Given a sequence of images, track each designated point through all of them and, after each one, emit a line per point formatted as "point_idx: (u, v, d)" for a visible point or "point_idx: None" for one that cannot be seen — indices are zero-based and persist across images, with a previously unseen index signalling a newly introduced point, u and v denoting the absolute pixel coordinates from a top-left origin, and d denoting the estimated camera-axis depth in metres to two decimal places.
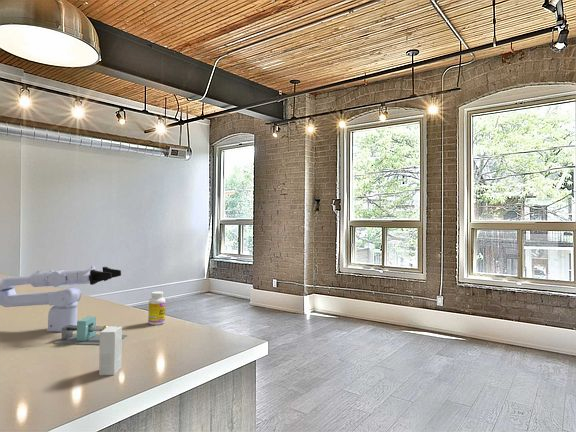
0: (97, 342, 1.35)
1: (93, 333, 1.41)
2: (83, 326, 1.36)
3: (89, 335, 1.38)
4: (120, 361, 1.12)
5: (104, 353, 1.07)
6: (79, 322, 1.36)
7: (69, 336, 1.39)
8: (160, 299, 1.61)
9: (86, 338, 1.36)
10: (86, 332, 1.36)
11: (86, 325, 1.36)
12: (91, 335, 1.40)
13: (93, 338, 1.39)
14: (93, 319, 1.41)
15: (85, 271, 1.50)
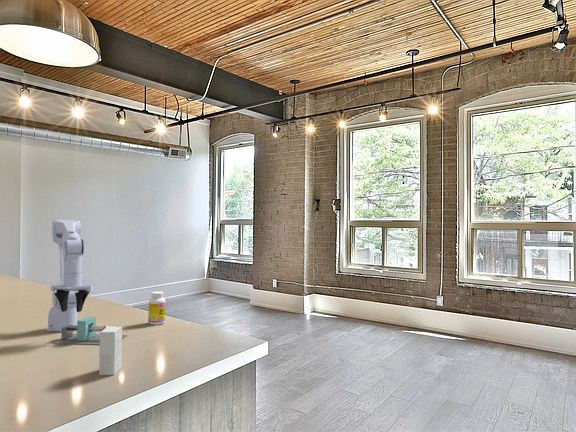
0: (97, 342, 1.35)
1: (93, 333, 1.41)
2: (83, 326, 1.36)
3: (89, 335, 1.38)
4: (120, 361, 1.12)
5: (104, 353, 1.07)
6: (79, 322, 1.36)
7: (69, 336, 1.39)
8: (160, 299, 1.61)
9: (86, 338, 1.36)
10: (86, 332, 1.36)
11: (86, 325, 1.36)
12: (91, 335, 1.40)
13: (93, 338, 1.39)
14: (93, 319, 1.41)
15: (63, 281, 1.38)
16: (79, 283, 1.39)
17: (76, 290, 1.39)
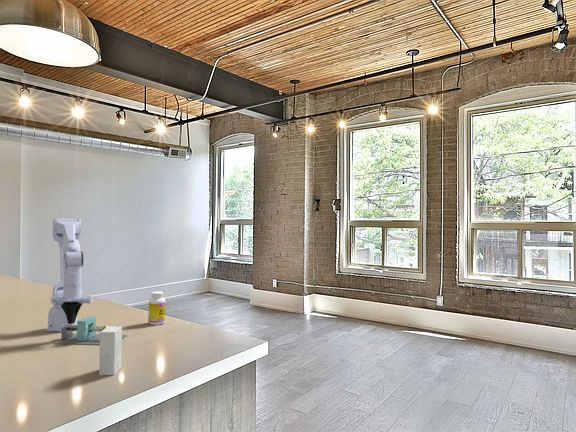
0: (97, 342, 1.35)
1: (93, 333, 1.41)
2: (83, 326, 1.36)
3: (89, 335, 1.38)
4: (120, 361, 1.12)
5: (104, 353, 1.07)
6: (79, 322, 1.36)
7: (69, 336, 1.39)
8: (160, 299, 1.61)
9: (86, 338, 1.36)
10: (86, 332, 1.36)
11: (86, 325, 1.36)
12: (91, 335, 1.40)
13: (93, 338, 1.39)
14: (93, 319, 1.41)
15: (63, 293, 1.37)
16: (79, 295, 1.39)
17: None
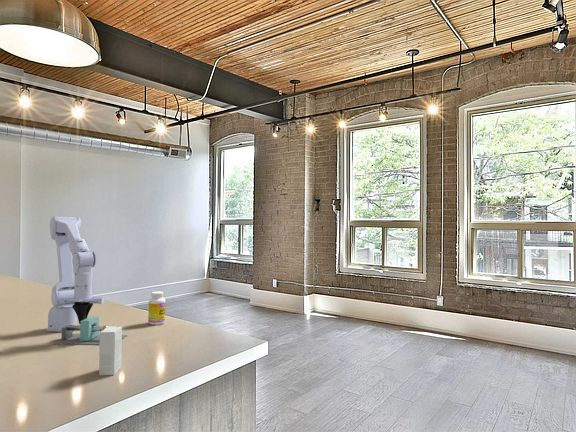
0: (97, 342, 1.35)
1: (96, 333, 1.41)
2: (86, 326, 1.36)
3: (92, 335, 1.38)
4: (120, 361, 1.12)
5: (104, 353, 1.07)
6: (82, 322, 1.36)
7: (69, 336, 1.39)
8: (160, 299, 1.61)
9: (89, 338, 1.36)
10: (89, 332, 1.36)
11: (89, 325, 1.36)
12: (94, 335, 1.40)
13: (93, 338, 1.39)
14: (96, 319, 1.41)
15: (74, 293, 1.37)
16: (90, 295, 1.39)
17: None
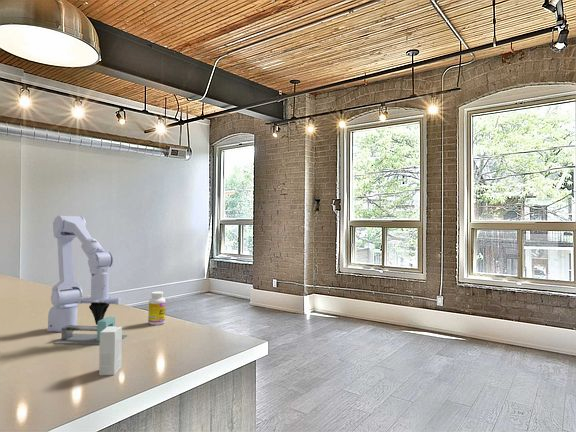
0: (97, 342, 1.35)
1: None
2: (103, 327, 1.35)
3: None
4: (120, 361, 1.12)
5: (104, 353, 1.07)
6: (99, 322, 1.36)
7: (69, 336, 1.39)
8: (160, 299, 1.61)
9: None
10: None
11: (106, 326, 1.36)
12: None
13: (93, 338, 1.39)
14: (113, 319, 1.41)
15: (91, 294, 1.37)
16: (106, 296, 1.39)
17: None
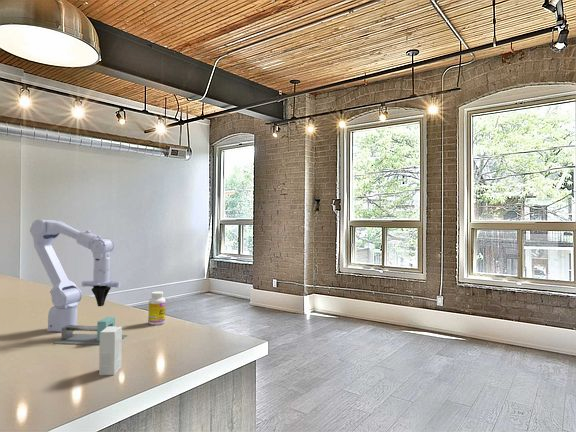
0: (97, 342, 1.35)
1: None
2: (103, 327, 1.35)
3: None
4: (120, 361, 1.12)
5: (104, 353, 1.07)
6: (99, 322, 1.36)
7: (69, 336, 1.39)
8: (160, 299, 1.61)
9: None
10: None
11: (106, 326, 1.36)
12: None
13: (93, 338, 1.39)
14: (113, 319, 1.41)
15: (93, 277, 1.47)
16: (108, 279, 1.49)
17: None
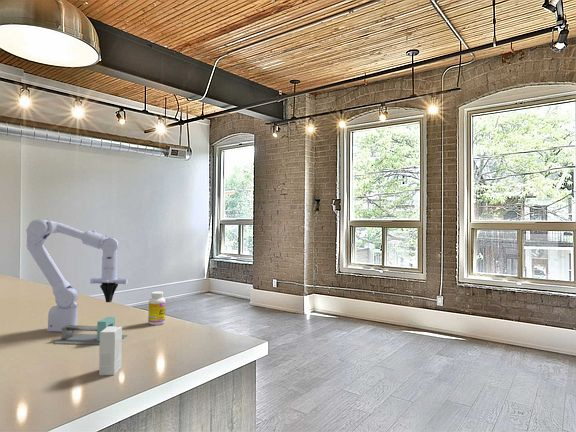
0: (97, 342, 1.35)
1: None
2: (103, 327, 1.35)
3: None
4: (120, 361, 1.12)
5: (104, 353, 1.07)
6: (99, 322, 1.36)
7: (69, 336, 1.39)
8: (160, 299, 1.61)
9: None
10: None
11: (106, 326, 1.36)
12: None
13: (93, 338, 1.39)
14: (113, 319, 1.41)
15: (102, 275, 1.54)
16: (115, 277, 1.56)
17: None
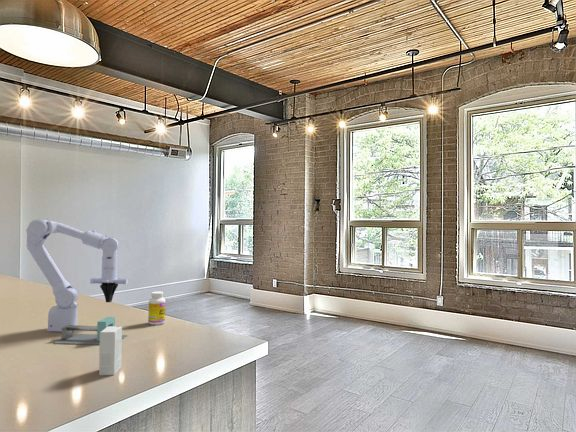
0: (97, 342, 1.35)
1: None
2: (103, 327, 1.35)
3: None
4: (120, 361, 1.12)
5: (104, 353, 1.07)
6: (99, 322, 1.36)
7: (69, 336, 1.39)
8: (160, 299, 1.61)
9: None
10: None
11: (106, 326, 1.36)
12: None
13: (93, 338, 1.39)
14: (113, 319, 1.41)
15: (102, 275, 1.54)
16: (115, 277, 1.56)
17: None
